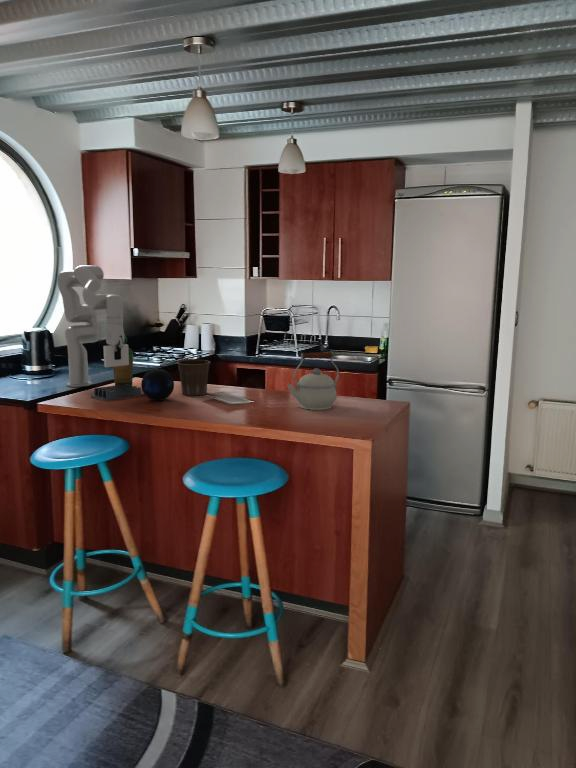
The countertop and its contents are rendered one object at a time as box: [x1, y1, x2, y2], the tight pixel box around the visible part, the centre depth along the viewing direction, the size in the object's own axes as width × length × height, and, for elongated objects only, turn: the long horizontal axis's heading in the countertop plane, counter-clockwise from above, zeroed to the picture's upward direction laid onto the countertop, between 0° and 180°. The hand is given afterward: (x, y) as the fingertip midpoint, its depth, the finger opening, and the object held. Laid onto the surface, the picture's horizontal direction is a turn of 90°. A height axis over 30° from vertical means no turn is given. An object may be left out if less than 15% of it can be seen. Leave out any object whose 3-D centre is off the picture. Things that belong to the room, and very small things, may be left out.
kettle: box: [286, 351, 340, 411], centre depth 281 cm, size 25×18×25 cm
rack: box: [89, 384, 146, 402], centre depth 305 cm, size 14×22×4 cm, turn 133°
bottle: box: [112, 333, 134, 386], centre depth 322 cm, size 11×11×28 cm
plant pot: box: [176, 359, 211, 397], centre depth 310 cm, size 16×16×16 cm
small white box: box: [102, 343, 129, 368], centre depth 301 cm, size 2×12×10 cm, turn 134°
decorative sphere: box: [140, 368, 175, 402], centre depth 294 cm, size 15×15×15 cm
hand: (116, 358), depth 302 cm, fingers closed on small white box, 2 cm apart
